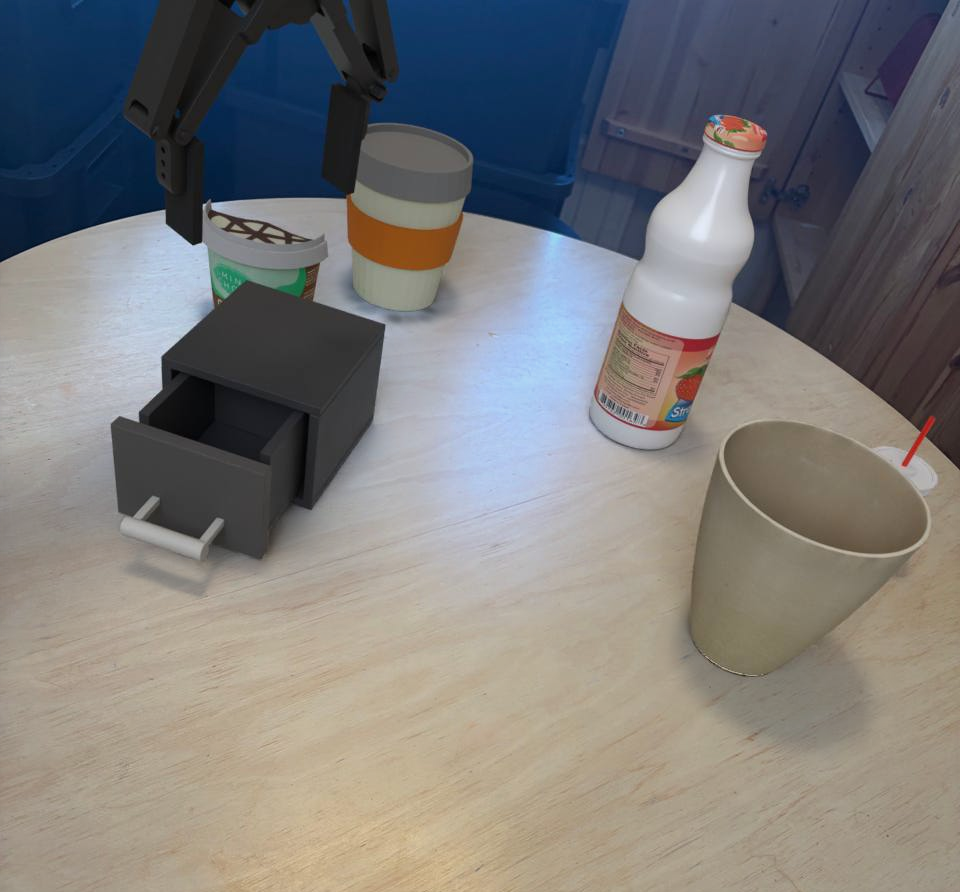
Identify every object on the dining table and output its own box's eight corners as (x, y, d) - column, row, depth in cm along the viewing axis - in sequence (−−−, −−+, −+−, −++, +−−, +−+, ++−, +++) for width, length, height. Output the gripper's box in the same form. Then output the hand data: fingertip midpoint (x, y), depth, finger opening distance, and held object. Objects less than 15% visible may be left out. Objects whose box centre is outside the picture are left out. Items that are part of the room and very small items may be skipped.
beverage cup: (893, 546, 91) (975, 418, 81) (878, 579, 87) (963, 448, 77) (832, 516, 92) (905, 387, 83) (814, 548, 88) (889, 416, 79)
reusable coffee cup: (318, 265, 108) (330, 120, 97) (421, 260, 113) (443, 123, 103) (362, 323, 101) (379, 174, 90) (470, 316, 106) (498, 174, 96)
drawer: (236, 596, 69) (237, 509, 64) (86, 545, 70) (76, 455, 64) (329, 464, 82) (337, 382, 76) (202, 422, 82) (201, 338, 77)
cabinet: (311, 510, 79) (320, 408, 72) (165, 462, 79) (160, 356, 73) (373, 420, 89) (386, 324, 82) (243, 378, 90) (246, 279, 83)
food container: (177, 324, 94) (174, 220, 87) (205, 297, 98) (204, 197, 91) (299, 361, 94) (306, 260, 86) (321, 333, 98) (330, 235, 91)
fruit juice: (588, 389, 100) (678, 93, 81) (677, 409, 101) (788, 120, 81) (586, 440, 94) (684, 131, 74) (681, 461, 94) (803, 160, 75)
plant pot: (693, 726, 70) (784, 560, 59) (617, 583, 80) (684, 417, 68) (863, 707, 75) (977, 550, 64) (773, 574, 84) (859, 418, 73)
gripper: (134, -134, 43) (147, 290, 59) (497, -152, 57) (427, 192, 73) (29, -204, 45) (70, 225, 61) (406, -204, 59) (357, 142, 75)
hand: (265, 208), depth 67 cm, fingers open, 13 cm apart
